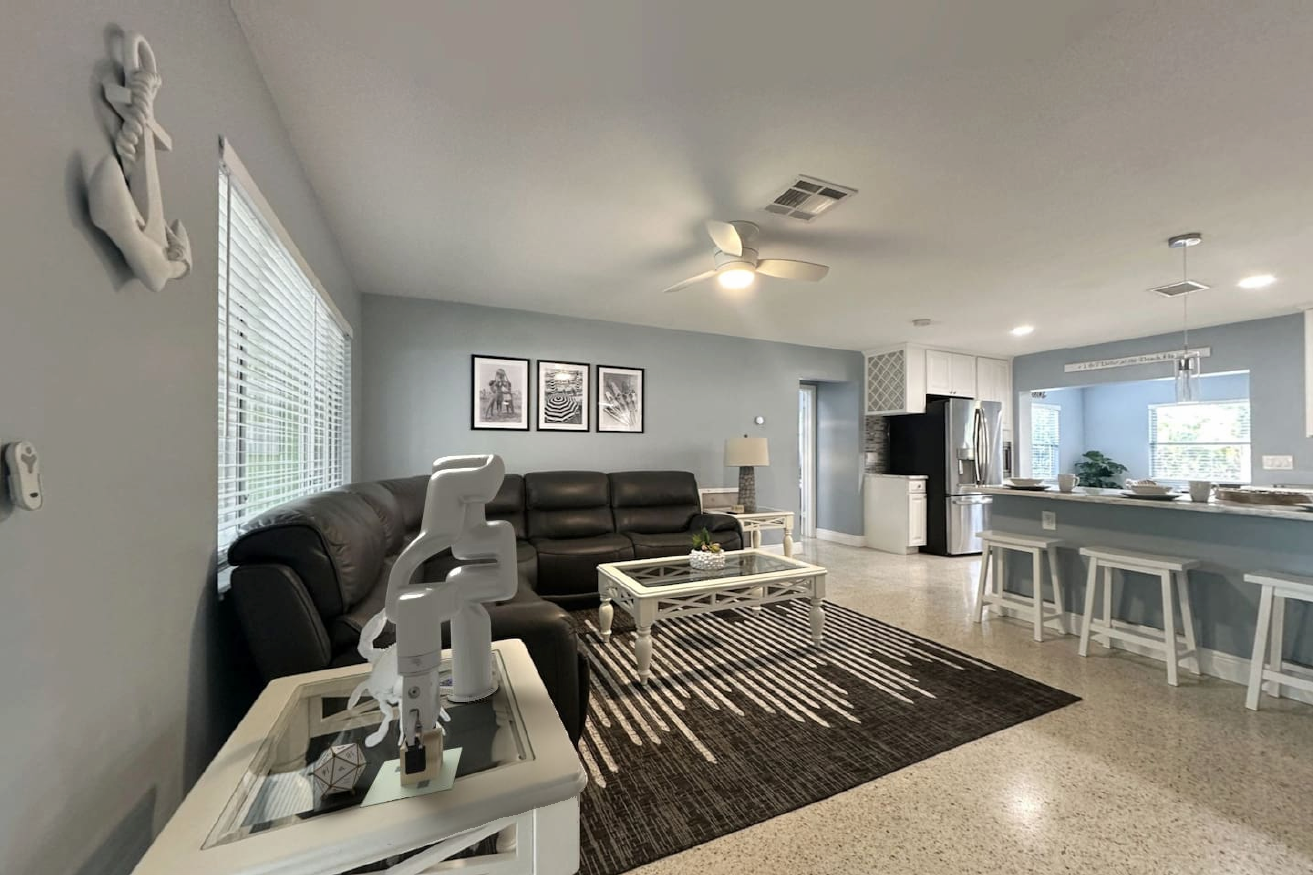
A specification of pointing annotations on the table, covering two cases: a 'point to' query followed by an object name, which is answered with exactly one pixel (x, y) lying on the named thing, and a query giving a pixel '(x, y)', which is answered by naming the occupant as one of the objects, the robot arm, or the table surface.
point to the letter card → (391, 788)
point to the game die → (340, 768)
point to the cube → (433, 758)
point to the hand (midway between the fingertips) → (421, 757)
